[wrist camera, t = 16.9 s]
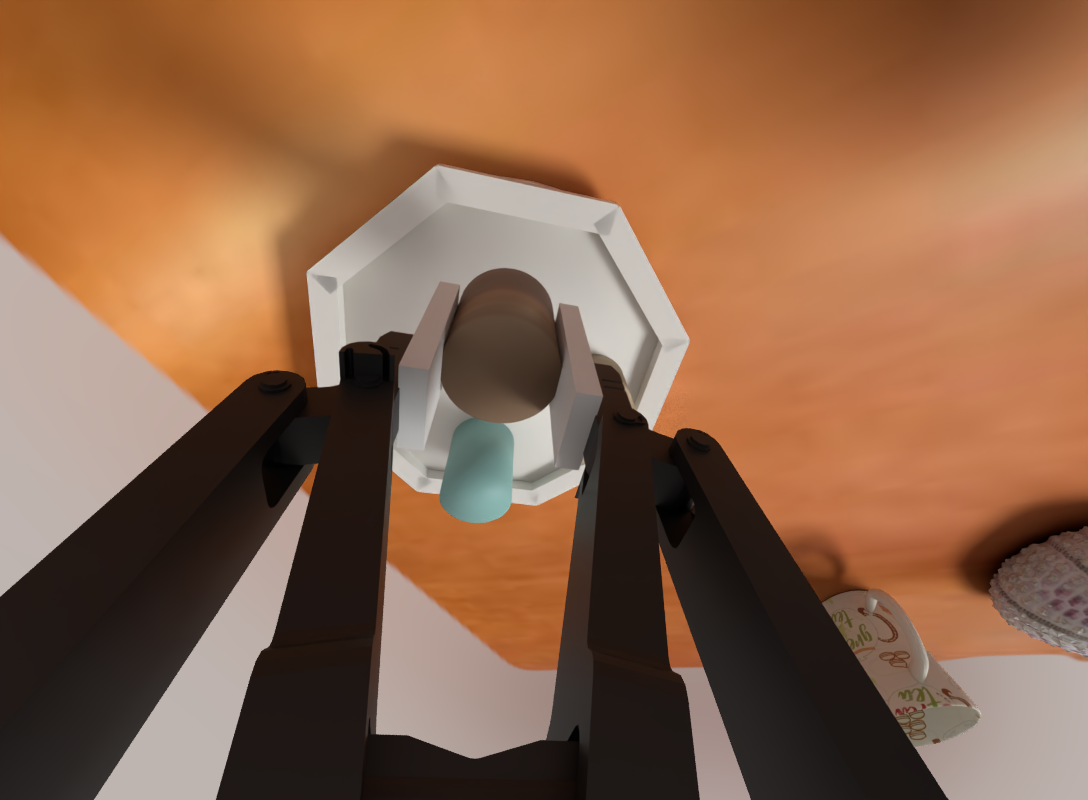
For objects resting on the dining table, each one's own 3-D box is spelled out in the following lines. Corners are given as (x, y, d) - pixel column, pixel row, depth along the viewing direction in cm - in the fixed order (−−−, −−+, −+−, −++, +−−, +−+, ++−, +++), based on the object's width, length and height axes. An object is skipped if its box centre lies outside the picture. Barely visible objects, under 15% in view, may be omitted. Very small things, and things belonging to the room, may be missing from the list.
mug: (799, 636, 45) (860, 755, 37) (805, 565, 39) (881, 690, 30) (884, 622, 44) (967, 741, 36) (906, 546, 37) (1013, 670, 29)
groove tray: (311, 132, 20) (293, 133, 18) (722, 222, 22) (736, 230, 21) (336, 462, 30) (326, 480, 29) (612, 496, 33) (616, 515, 32)
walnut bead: (462, 259, 17) (443, 307, 13) (562, 277, 18) (573, 328, 14) (454, 349, 19) (435, 415, 15) (543, 363, 20) (548, 430, 16)
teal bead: (455, 412, 27) (441, 467, 23) (518, 421, 28) (517, 477, 23) (450, 460, 29) (436, 518, 25) (509, 468, 30) (506, 526, 26)
